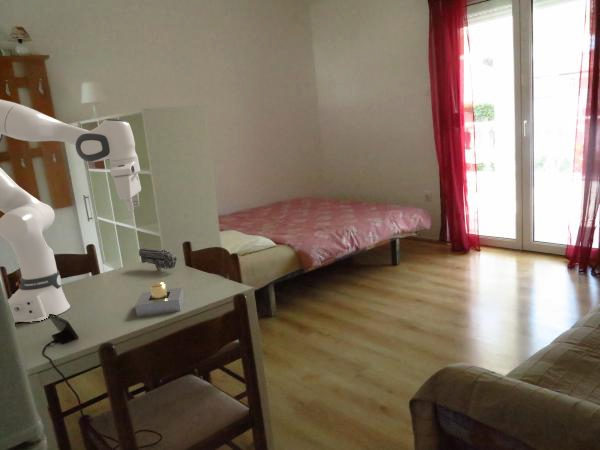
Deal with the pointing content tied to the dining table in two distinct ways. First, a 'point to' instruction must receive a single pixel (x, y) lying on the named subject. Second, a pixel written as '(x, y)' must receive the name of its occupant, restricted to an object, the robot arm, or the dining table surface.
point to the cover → (158, 290)
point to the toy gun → (158, 258)
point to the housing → (159, 303)
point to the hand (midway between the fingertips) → (134, 208)
